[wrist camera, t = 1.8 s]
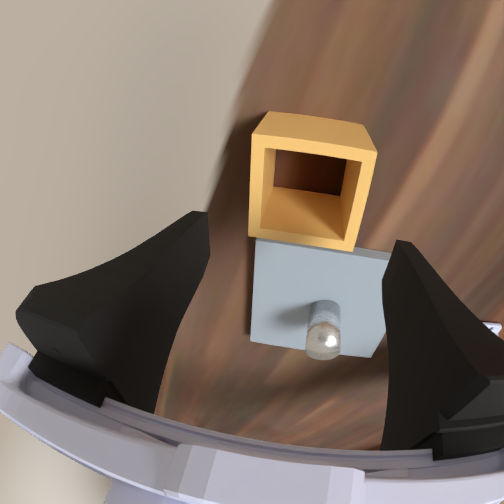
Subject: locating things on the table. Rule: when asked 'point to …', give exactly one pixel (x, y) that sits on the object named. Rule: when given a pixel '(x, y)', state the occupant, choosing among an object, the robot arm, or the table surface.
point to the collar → (305, 202)
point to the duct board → (318, 298)
